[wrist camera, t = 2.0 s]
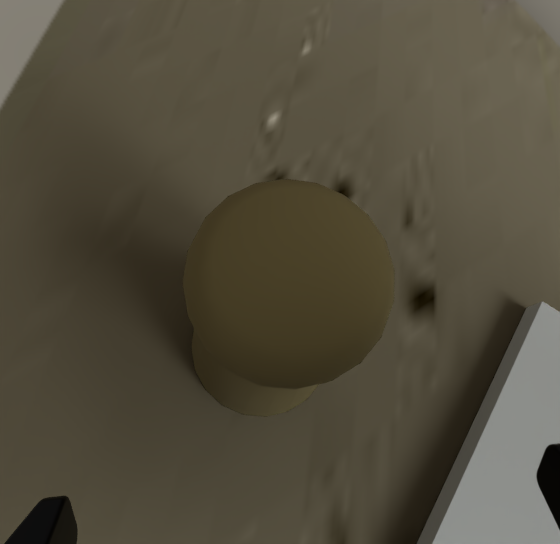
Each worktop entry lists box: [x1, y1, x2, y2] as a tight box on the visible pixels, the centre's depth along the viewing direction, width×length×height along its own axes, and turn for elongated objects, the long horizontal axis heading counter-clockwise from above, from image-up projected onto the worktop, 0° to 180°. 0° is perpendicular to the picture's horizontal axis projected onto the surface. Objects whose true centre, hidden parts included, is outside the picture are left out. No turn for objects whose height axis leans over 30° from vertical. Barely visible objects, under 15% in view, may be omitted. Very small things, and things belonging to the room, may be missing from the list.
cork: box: [182, 179, 394, 417], centre depth 15 cm, size 6×6×11 cm
